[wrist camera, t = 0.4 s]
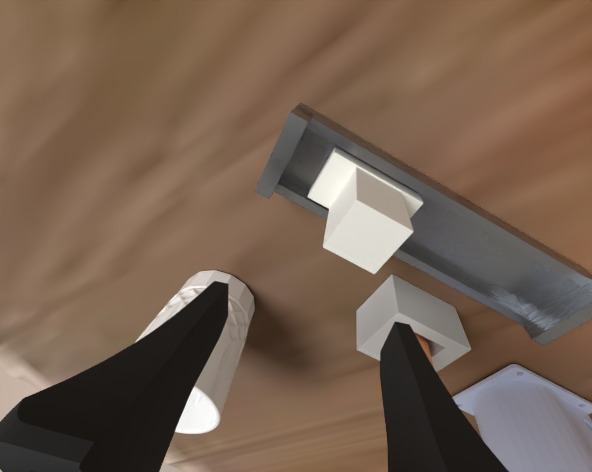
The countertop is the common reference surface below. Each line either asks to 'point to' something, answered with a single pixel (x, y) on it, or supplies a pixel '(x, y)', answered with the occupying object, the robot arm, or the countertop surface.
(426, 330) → the white hollow block
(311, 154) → the rail
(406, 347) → the robot arm
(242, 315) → the white cup
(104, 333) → the countertop surface
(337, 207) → the carriage
